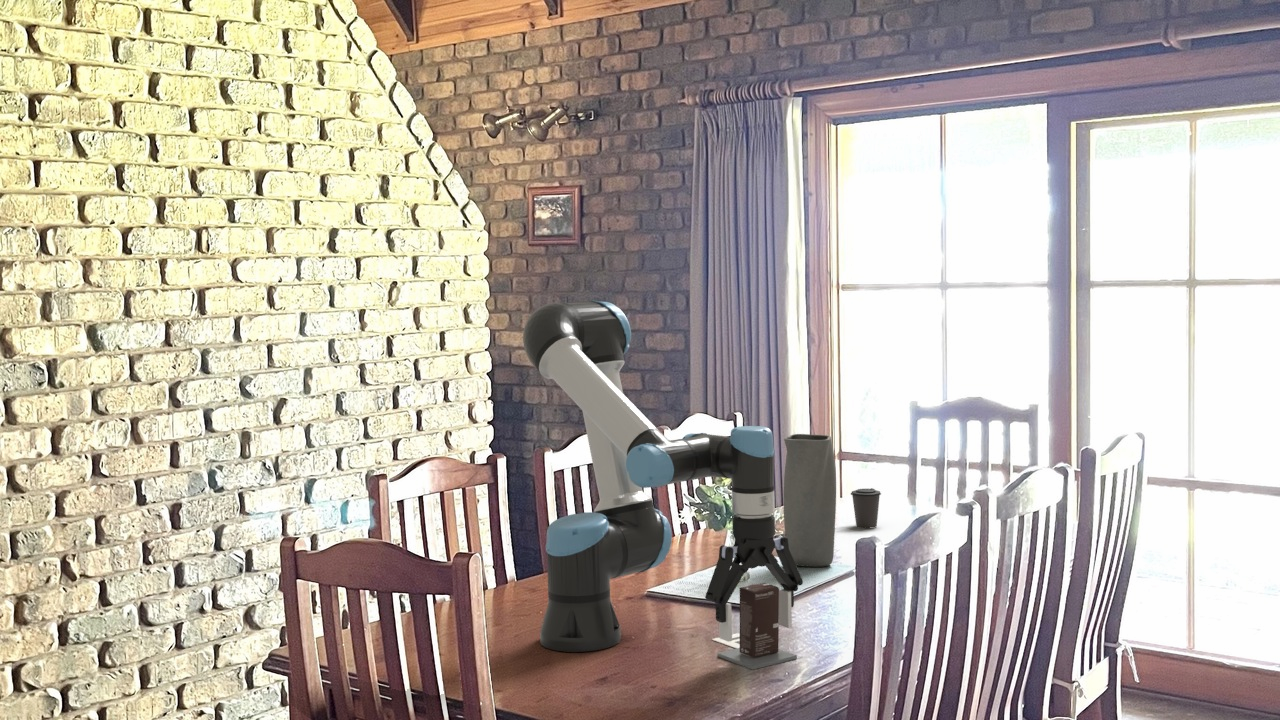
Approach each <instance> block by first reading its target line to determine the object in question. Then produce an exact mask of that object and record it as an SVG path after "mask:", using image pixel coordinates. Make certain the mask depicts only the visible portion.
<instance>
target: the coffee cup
mask: <svg viewBox="0 0 1280 720" xmlns="http://www.w3.org/2000/svg"><path fill="white" fill-rule="evenodd" d="M850 495H851V497H852V503H853V509H854V510H853V511H854V518H855V526H856V528H859V529H871V528H870V527H875V526H878V517H879V507H880V506H879V505H880V496H881V495H882V492H881V491H880V490H876V489H875V488H872V487H871V488H858V489H855V490H852V491H851V492H850ZM875 528H876V527H875Z"/></svg>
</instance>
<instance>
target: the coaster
mask: <svg viewBox="0 0 1280 720" xmlns="http://www.w3.org/2000/svg"><path fill="white" fill-rule="evenodd" d="M778 651H779V652H777V653H772V654H767V655H763V656H759V657H755V658H752V657H748V656H745V655H742V654H741V653H740V648H737V649H736V648H734V649H729V650H724V651H721V652H717V653H716V654H717V656H716V657H719V658H721V659H723V660H727V661H729V662H731V663H734V664H737V665H740V666H742V667H745V668H748V669H751V670H757V669H761V668H764V667H768V666H772V665H777V664H780V663H781V664H782V663H784V662H789V661H793V660H797V659H798V655H796V654H794V653H791V652H789V651H785V650H783V649H779V648H778Z"/></svg>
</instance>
